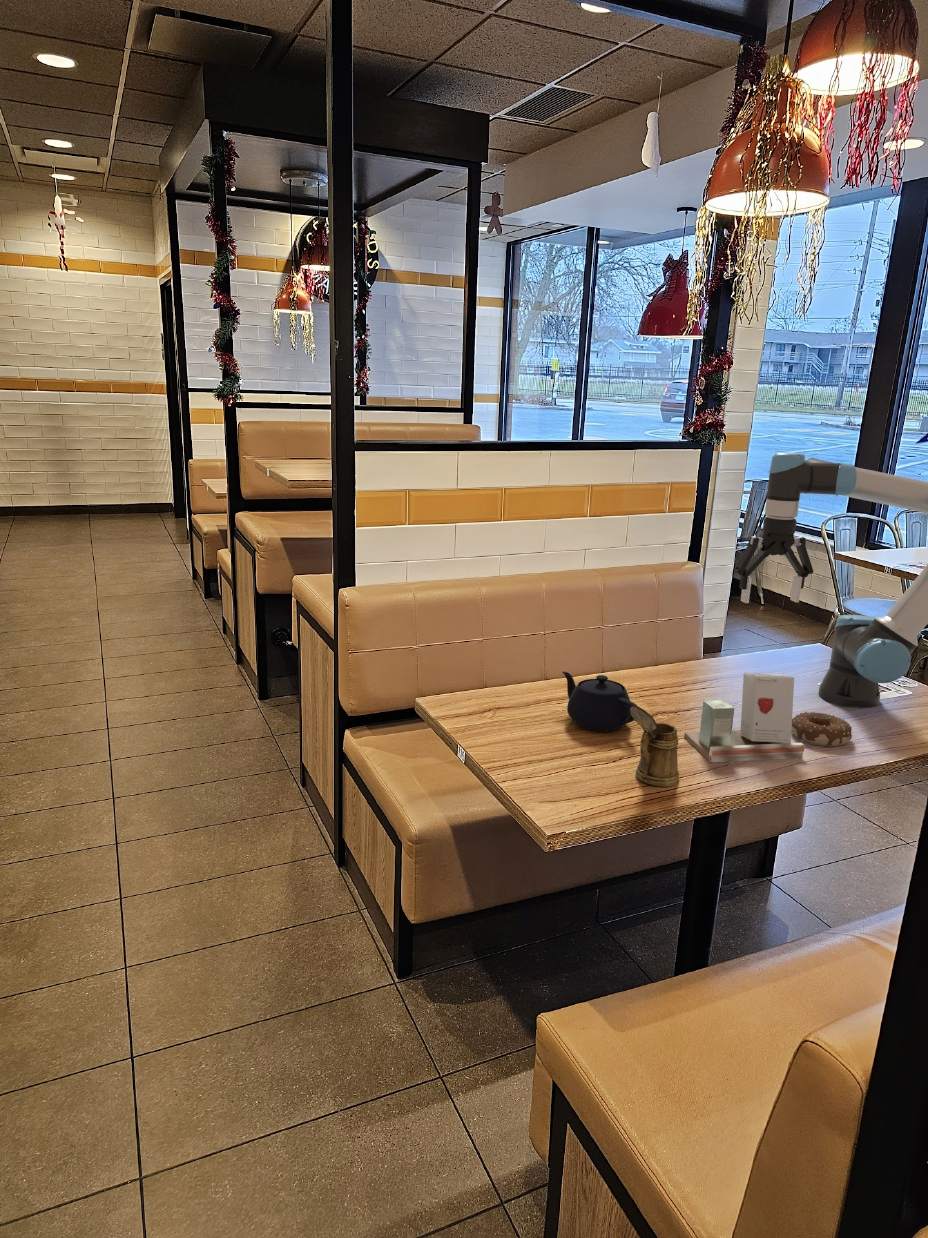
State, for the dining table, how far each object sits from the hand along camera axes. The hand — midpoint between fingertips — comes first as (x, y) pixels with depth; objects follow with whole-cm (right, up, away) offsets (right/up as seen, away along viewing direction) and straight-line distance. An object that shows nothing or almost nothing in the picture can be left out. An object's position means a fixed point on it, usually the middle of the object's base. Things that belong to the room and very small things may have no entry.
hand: (769, 601), depth 209 cm
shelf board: (-13, -34, -17) cm, 40 cm away
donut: (+8, -33, -10) cm, 35 cm away
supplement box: (-8, -32, -18) cm, 38 cm away
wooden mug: (-38, -38, -35) cm, 64 cm away
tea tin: (-20, -33, -20) cm, 43 cm away
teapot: (-44, -30, -5) cm, 54 cm away
